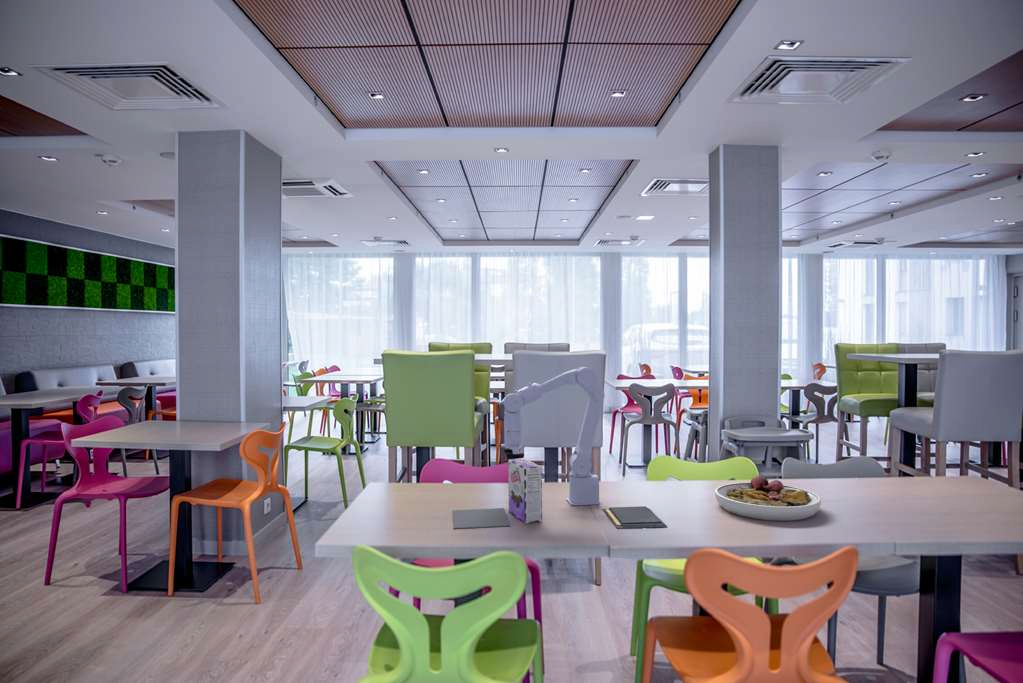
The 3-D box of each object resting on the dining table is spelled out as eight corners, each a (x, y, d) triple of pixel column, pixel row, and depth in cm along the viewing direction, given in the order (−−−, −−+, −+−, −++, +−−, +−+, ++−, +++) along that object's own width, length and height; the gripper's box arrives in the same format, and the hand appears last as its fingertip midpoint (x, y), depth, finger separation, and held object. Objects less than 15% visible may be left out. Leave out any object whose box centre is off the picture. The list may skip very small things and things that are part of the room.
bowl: (834, 527, 168) (834, 499, 168) (722, 521, 175) (722, 494, 175) (805, 499, 198) (804, 475, 198) (709, 495, 204) (709, 472, 204)
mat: (504, 509, 189) (504, 508, 189) (510, 526, 171) (510, 525, 171) (452, 511, 188) (452, 510, 188) (453, 529, 170) (453, 528, 170)
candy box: (507, 511, 186) (507, 458, 186) (525, 509, 188) (524, 457, 188) (524, 524, 173) (523, 467, 173) (543, 521, 176) (542, 465, 175)
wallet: (668, 523, 168) (614, 524, 168) (668, 530, 168) (614, 531, 168) (650, 504, 188) (602, 505, 188) (650, 510, 188) (602, 511, 188)
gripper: (498, 427, 203) (499, 468, 203) (503, 434, 188) (504, 477, 188) (519, 427, 203) (520, 467, 203) (525, 433, 189) (526, 476, 189)
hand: (513, 472), depth 196 cm, fingers open, 7 cm apart
